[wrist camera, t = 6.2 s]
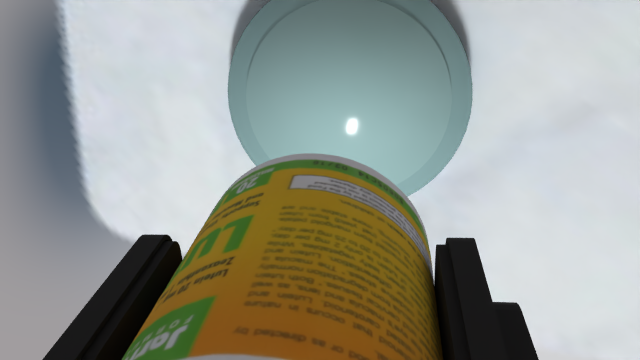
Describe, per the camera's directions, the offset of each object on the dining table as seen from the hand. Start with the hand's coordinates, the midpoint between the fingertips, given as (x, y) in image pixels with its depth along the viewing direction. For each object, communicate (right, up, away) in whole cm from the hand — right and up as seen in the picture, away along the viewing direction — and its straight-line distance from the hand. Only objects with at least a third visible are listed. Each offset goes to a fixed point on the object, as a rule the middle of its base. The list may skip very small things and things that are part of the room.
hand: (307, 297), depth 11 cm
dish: (+2, +6, +13) cm, 15 cm away
